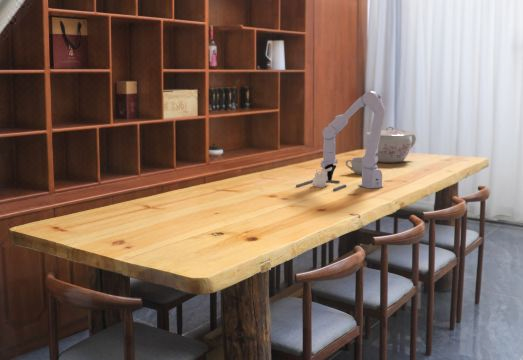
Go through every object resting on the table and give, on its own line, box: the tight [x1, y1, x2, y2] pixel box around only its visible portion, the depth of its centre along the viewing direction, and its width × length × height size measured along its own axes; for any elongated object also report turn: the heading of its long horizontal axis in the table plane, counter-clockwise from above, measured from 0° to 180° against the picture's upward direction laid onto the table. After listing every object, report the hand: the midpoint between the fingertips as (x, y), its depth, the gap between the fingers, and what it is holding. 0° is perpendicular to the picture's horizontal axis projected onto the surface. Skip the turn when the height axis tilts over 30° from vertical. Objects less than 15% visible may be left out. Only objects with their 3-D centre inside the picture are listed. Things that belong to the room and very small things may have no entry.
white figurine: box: [311, 167, 332, 188], centre depth 309 cm, size 12×8×10 cm, turn 136°
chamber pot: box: [365, 125, 417, 164], centre depth 385 cm, size 28×28×21 cm
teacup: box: [345, 156, 364, 176], centre depth 344 cm, size 14×11×8 cm
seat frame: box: [295, 179, 347, 192], centre depth 311 cm, size 20×21×1 cm
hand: (328, 180), depth 314 cm, fingers closed
